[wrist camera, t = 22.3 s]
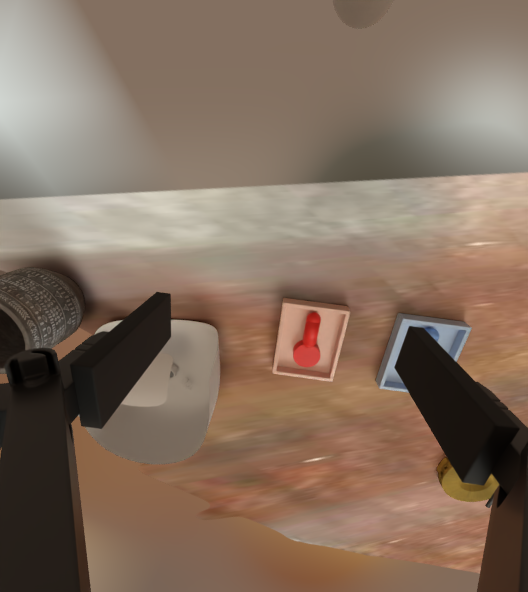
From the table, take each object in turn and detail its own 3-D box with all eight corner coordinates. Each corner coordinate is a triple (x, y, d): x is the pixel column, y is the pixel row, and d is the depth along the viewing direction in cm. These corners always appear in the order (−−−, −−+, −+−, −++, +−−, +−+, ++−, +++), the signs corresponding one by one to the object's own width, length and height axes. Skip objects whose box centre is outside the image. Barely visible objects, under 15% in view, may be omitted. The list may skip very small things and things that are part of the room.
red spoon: (300, 308, 43) (301, 314, 41) (328, 311, 43) (330, 318, 41) (291, 359, 47) (291, 367, 45) (316, 363, 47) (318, 371, 45)
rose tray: (283, 297, 43) (283, 302, 41) (348, 306, 43) (350, 311, 41) (272, 366, 48) (272, 373, 46) (330, 374, 48) (332, 382, 46)
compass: (428, 459, 54) (433, 470, 52) (493, 440, 51) (502, 450, 49) (447, 496, 57) (452, 507, 55) (509, 480, 54) (517, 492, 52)
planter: (89, 264, 44) (16, 294, 32) (101, 331, 48) (41, 379, 36) (16, 257, 44) (-83, 284, 32) (34, 324, 49) (-46, 369, 37)
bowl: (129, 404, 54) (89, 459, 43) (108, 316, 47) (55, 356, 36) (229, 409, 53) (215, 468, 42) (224, 320, 46) (205, 363, 35)
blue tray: (398, 312, 43) (403, 318, 41) (464, 321, 43) (472, 327, 41) (375, 380, 48) (379, 388, 46) (434, 388, 48) (440, 397, 46)
